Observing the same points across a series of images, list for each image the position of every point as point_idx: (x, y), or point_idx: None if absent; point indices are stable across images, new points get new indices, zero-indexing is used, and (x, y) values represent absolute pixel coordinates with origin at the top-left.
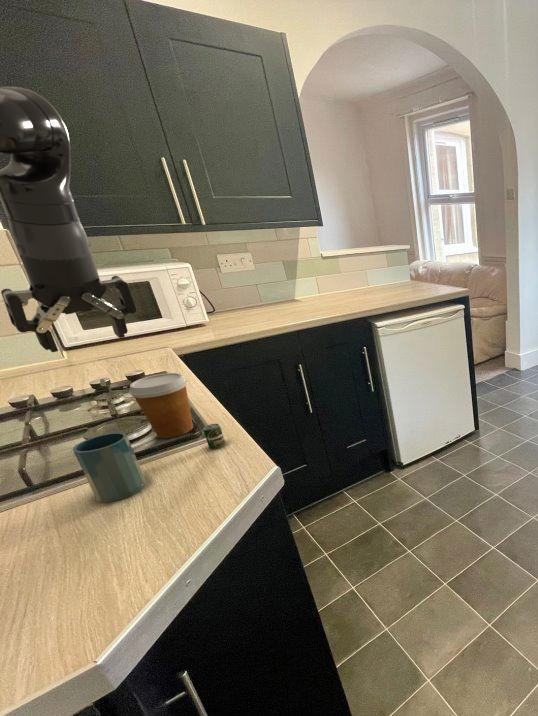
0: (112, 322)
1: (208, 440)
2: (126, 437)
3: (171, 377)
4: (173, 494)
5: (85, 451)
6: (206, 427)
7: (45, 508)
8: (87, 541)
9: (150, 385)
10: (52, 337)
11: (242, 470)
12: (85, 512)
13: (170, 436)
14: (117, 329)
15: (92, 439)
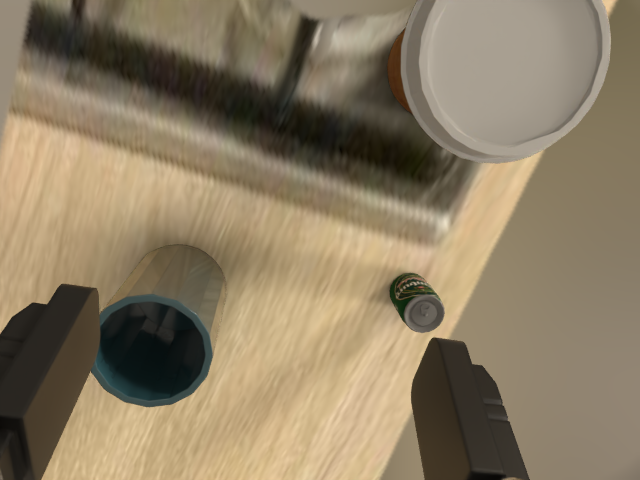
0: (447, 437)
1: (395, 304)
2: (203, 379)
3: (568, 63)
4: (222, 407)
5: (102, 379)
6: (418, 300)
7: (58, 197)
8: None
9: (469, 82)
10: (53, 445)
11: (343, 452)
12: (99, 305)
13: (400, 103)
14: (420, 453)
15: (150, 300)
